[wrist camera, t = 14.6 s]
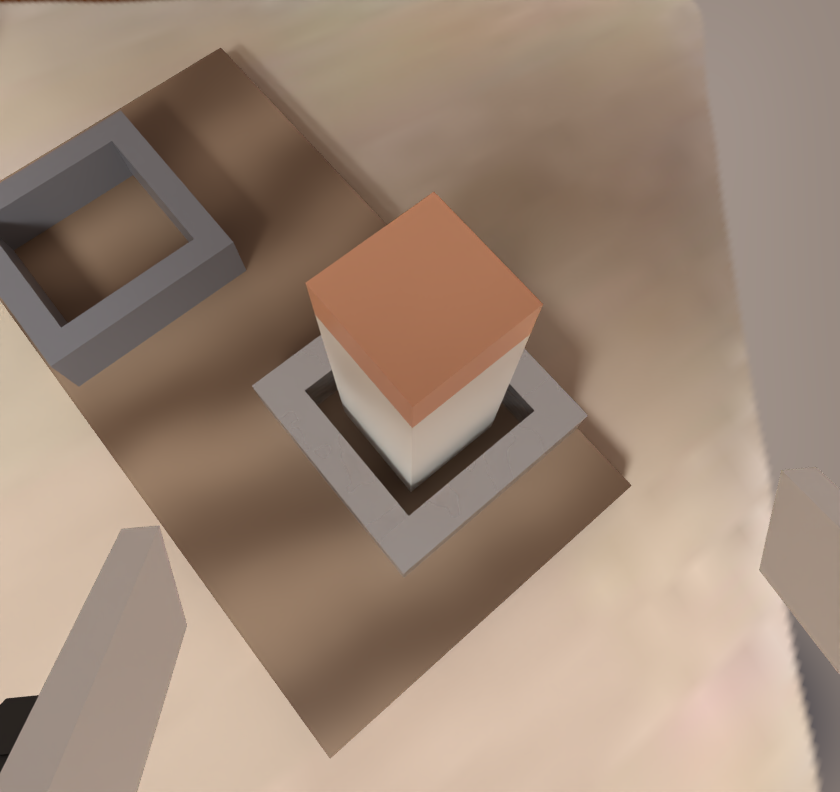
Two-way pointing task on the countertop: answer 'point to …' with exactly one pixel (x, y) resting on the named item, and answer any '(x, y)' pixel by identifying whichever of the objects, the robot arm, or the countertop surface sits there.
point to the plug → (422, 336)
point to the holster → (140, 298)
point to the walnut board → (263, 435)
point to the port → (458, 500)
